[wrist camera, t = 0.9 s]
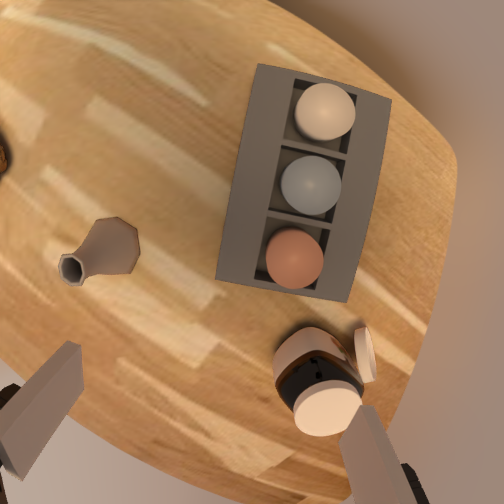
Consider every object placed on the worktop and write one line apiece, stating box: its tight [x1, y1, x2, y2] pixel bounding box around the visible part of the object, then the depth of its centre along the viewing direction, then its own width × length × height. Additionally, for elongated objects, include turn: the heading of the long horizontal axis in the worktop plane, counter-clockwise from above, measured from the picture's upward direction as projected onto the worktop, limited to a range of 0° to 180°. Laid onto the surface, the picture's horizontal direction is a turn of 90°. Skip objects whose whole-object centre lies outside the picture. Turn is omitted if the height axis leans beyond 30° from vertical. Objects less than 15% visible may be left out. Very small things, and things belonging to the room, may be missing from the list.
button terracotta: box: [265, 226, 324, 289], centre depth 30 cm, size 5×5×4 cm
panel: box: [215, 63, 392, 303], centre depth 31 cm, size 22×14×4 cm, turn 169°
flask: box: [58, 217, 140, 286], centre depth 30 cm, size 7×7×10 cm
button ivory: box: [293, 83, 355, 143], centre depth 27 cm, size 5×5×4 cm
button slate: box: [279, 156, 341, 215], centre depth 28 cm, size 5×5×4 cm
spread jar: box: [273, 327, 376, 436], centre depth 32 cm, size 12×11×12 cm
